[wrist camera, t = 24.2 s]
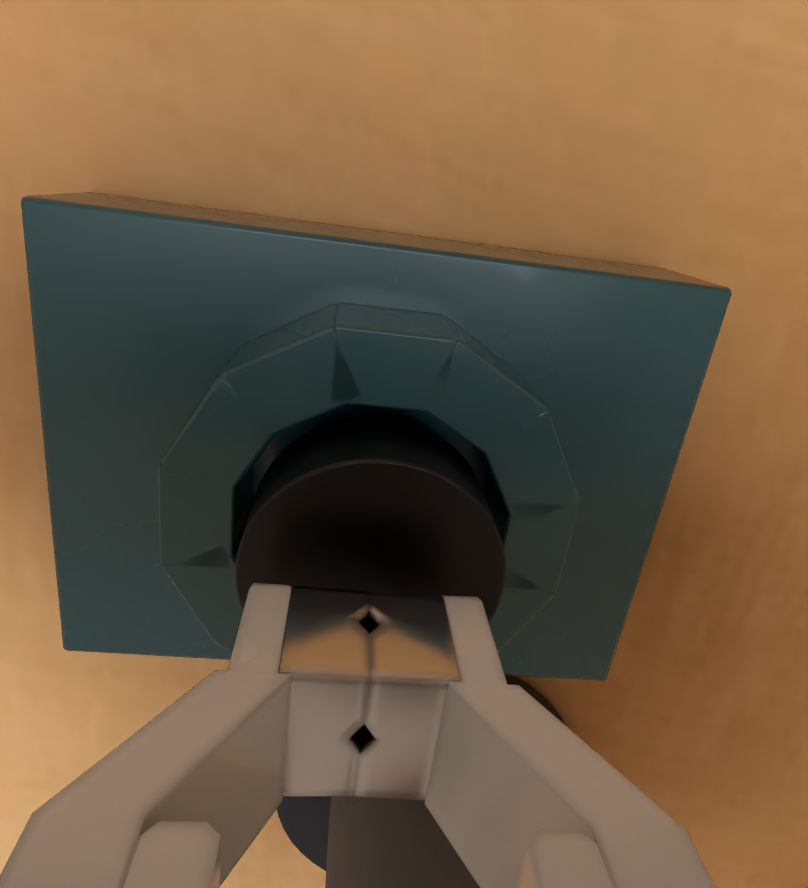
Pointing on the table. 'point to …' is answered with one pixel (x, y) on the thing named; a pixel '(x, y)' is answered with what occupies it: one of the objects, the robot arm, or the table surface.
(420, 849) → the bottle
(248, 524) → the button
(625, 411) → the teal push button box
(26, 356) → the table surface
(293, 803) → the coaster
